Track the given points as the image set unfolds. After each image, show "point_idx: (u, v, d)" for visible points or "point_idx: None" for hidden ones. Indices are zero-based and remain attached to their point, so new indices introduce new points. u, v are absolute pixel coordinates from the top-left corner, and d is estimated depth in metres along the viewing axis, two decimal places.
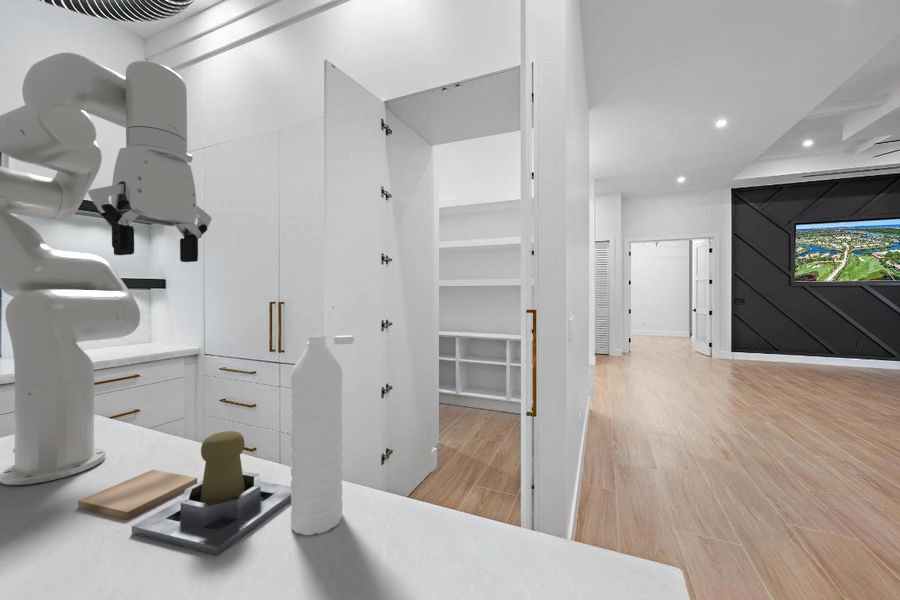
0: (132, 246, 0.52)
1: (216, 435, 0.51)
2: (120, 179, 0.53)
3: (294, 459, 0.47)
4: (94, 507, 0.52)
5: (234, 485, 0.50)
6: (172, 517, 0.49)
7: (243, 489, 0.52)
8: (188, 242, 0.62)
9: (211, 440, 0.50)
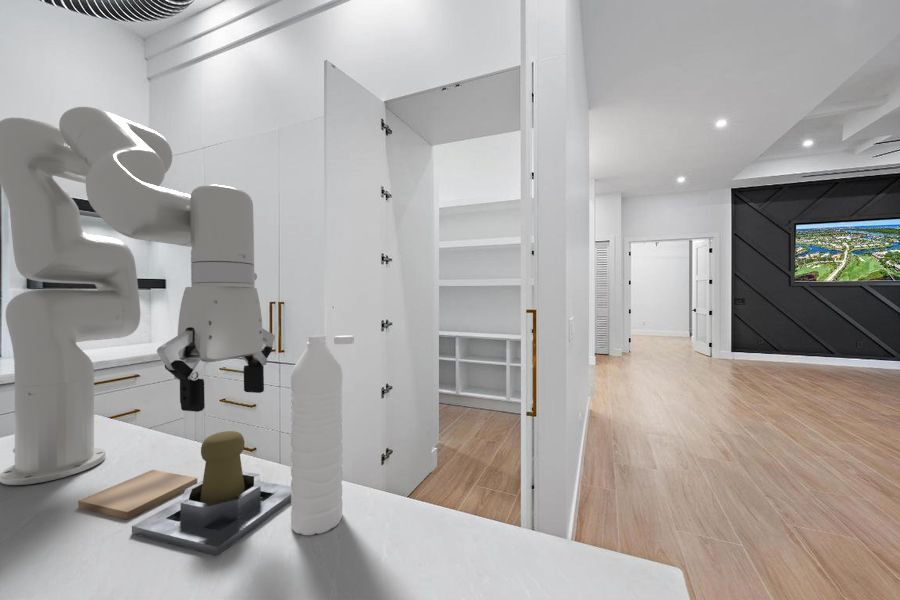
0: (202, 401, 0.46)
1: (216, 435, 0.51)
2: (188, 325, 0.46)
3: (294, 459, 0.47)
4: (94, 507, 0.52)
5: (234, 485, 0.50)
6: (172, 517, 0.49)
7: (243, 489, 0.52)
8: (253, 371, 0.55)
9: (211, 440, 0.50)
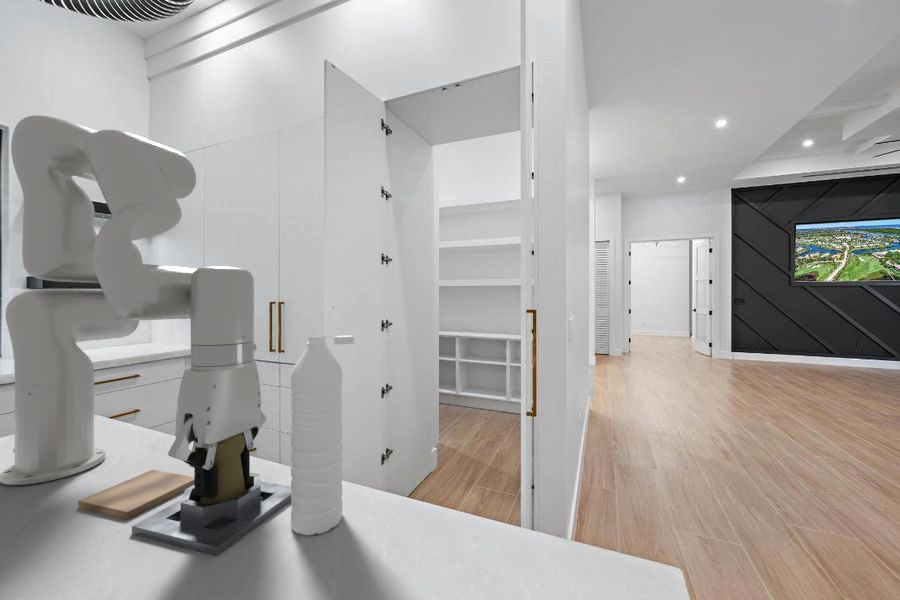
0: (216, 488, 0.48)
1: None
2: (187, 411, 0.47)
3: (294, 459, 0.47)
4: (94, 507, 0.52)
5: (234, 485, 0.50)
6: (172, 517, 0.49)
7: (243, 489, 0.52)
8: None
9: None
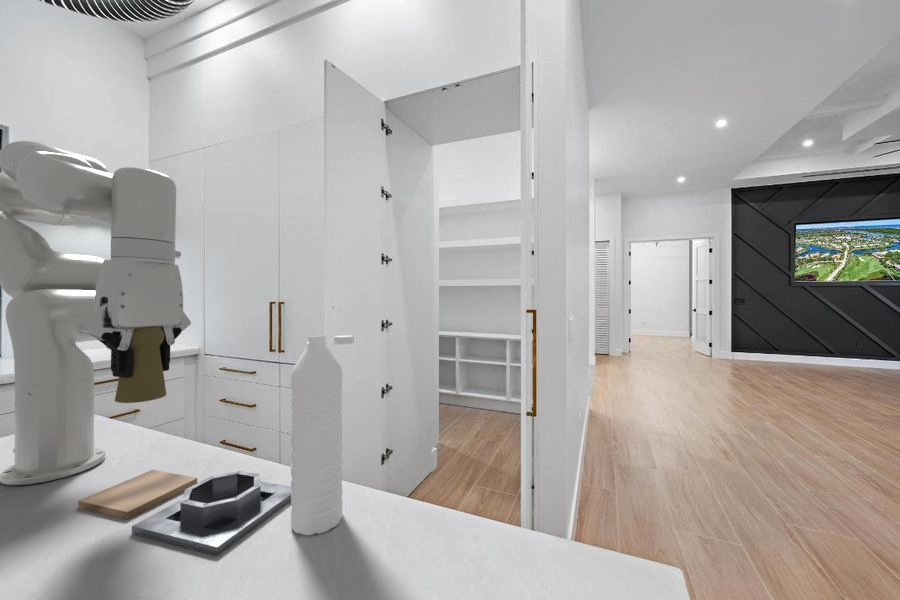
0: (131, 369, 0.53)
1: None
2: (103, 294, 0.51)
3: (294, 459, 0.47)
4: (94, 507, 0.52)
5: (150, 370, 0.55)
6: (172, 517, 0.49)
7: (161, 377, 0.56)
8: None
9: None
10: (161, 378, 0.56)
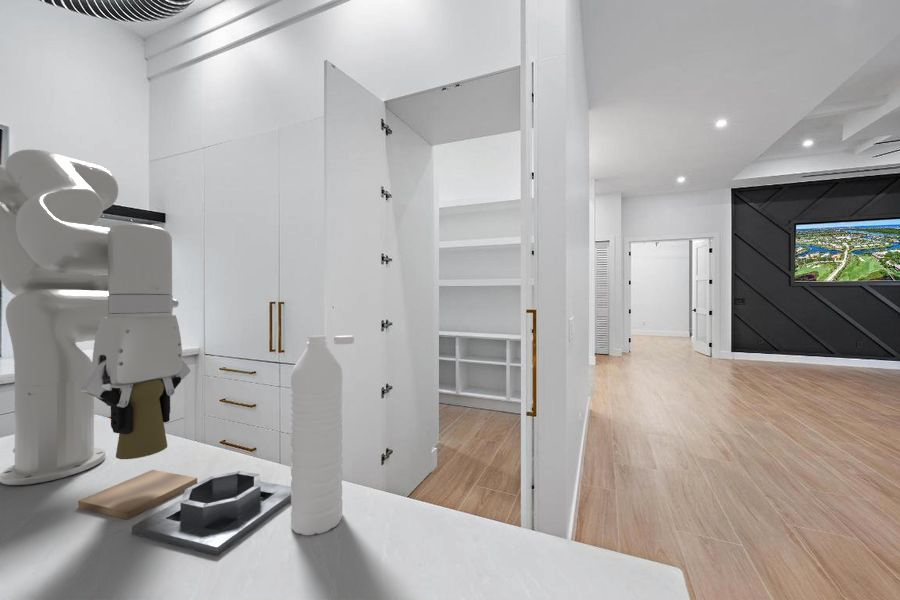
0: (131, 425, 0.53)
1: None
2: (101, 352, 0.51)
3: (294, 459, 0.47)
4: (94, 507, 0.52)
5: (150, 424, 0.55)
6: (172, 517, 0.49)
7: (161, 429, 0.56)
8: None
9: None
10: (162, 430, 0.56)
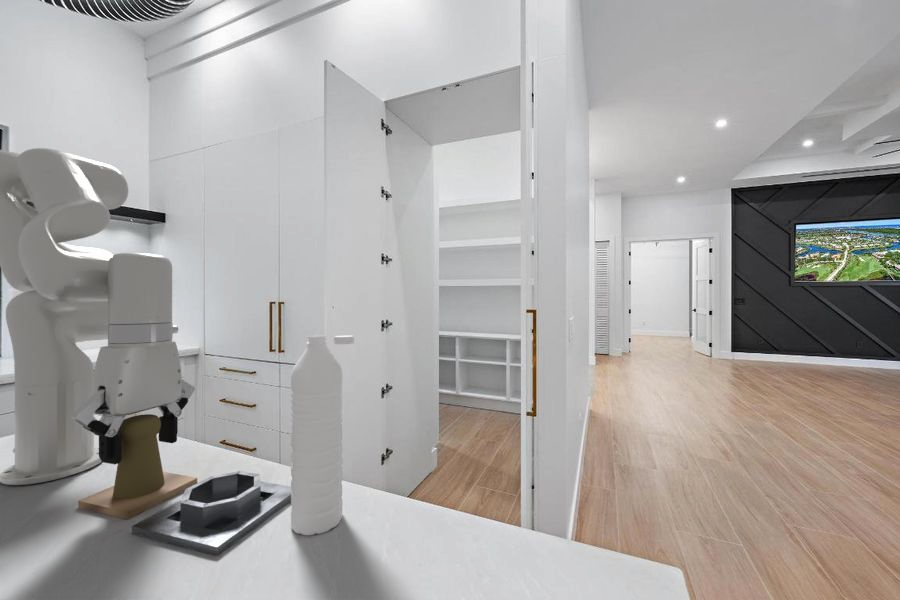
0: (119, 455, 0.52)
1: (132, 417, 0.55)
2: (101, 383, 0.51)
3: (294, 459, 0.47)
4: (94, 507, 0.52)
5: (148, 462, 0.55)
6: (172, 517, 0.49)
7: (159, 467, 0.56)
8: (167, 423, 0.59)
9: (126, 421, 0.54)
10: (159, 468, 0.56)
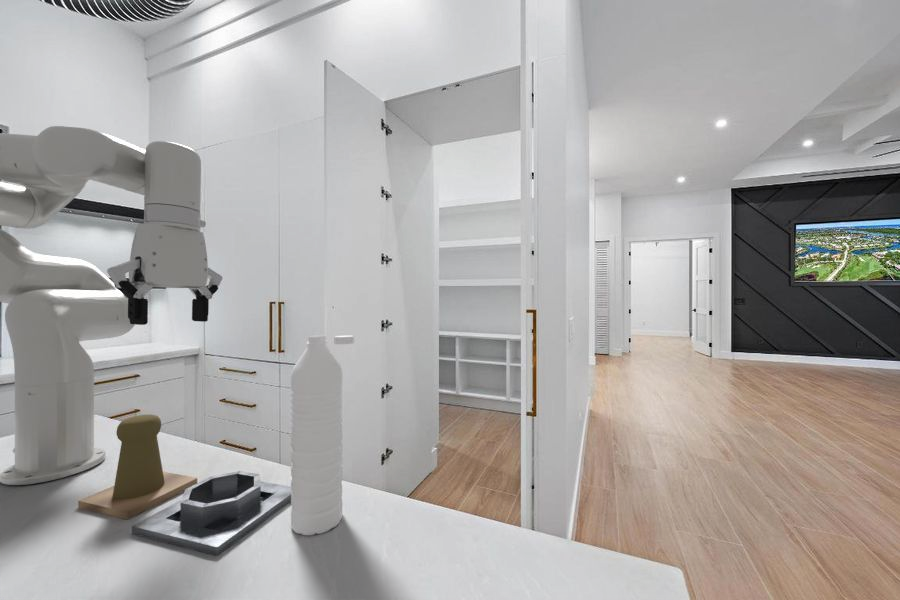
0: (146, 317, 0.56)
1: (132, 417, 0.55)
2: (137, 254, 0.57)
3: (294, 459, 0.47)
4: (94, 507, 0.52)
5: (148, 463, 0.55)
6: (172, 517, 0.49)
7: (159, 467, 0.56)
8: (199, 303, 0.65)
9: (126, 421, 0.54)
10: (159, 468, 0.56)
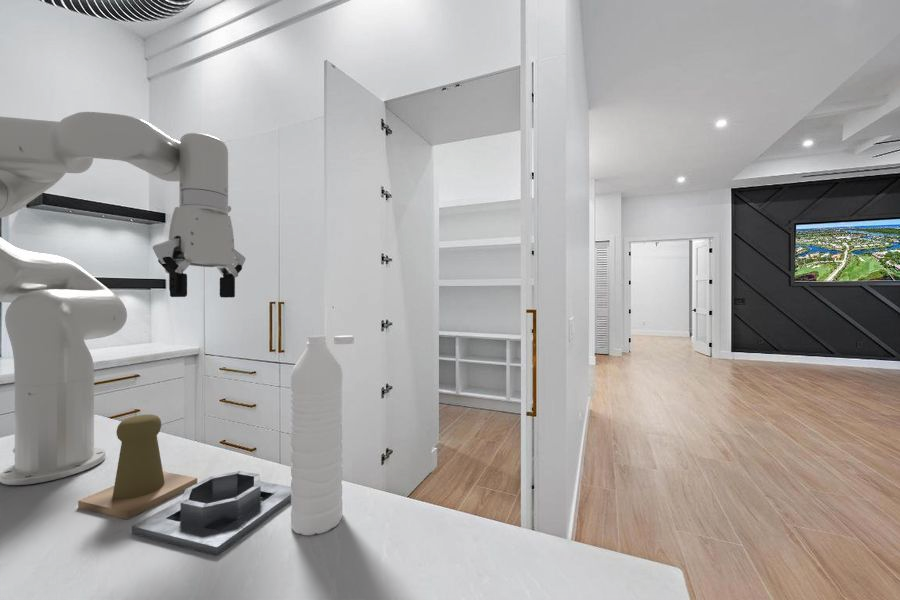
0: (185, 290, 0.63)
1: (132, 417, 0.55)
2: (176, 234, 0.63)
3: (294, 459, 0.47)
4: (94, 507, 0.52)
5: (148, 463, 0.55)
6: (172, 517, 0.49)
7: (159, 467, 0.56)
8: (227, 281, 0.72)
9: (126, 421, 0.54)
10: (159, 468, 0.56)
